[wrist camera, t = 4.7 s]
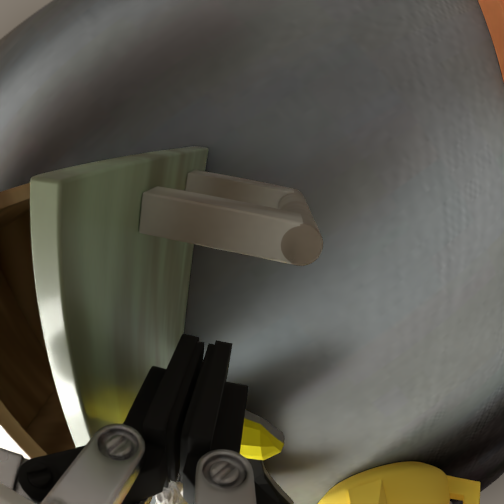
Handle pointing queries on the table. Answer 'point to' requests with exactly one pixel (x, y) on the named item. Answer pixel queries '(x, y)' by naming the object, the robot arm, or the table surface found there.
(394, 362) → the table surface
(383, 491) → the teapot
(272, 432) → the black and yellow shoe
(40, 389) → the cupboard
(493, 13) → the button block
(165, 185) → the door
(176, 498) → the seashell
